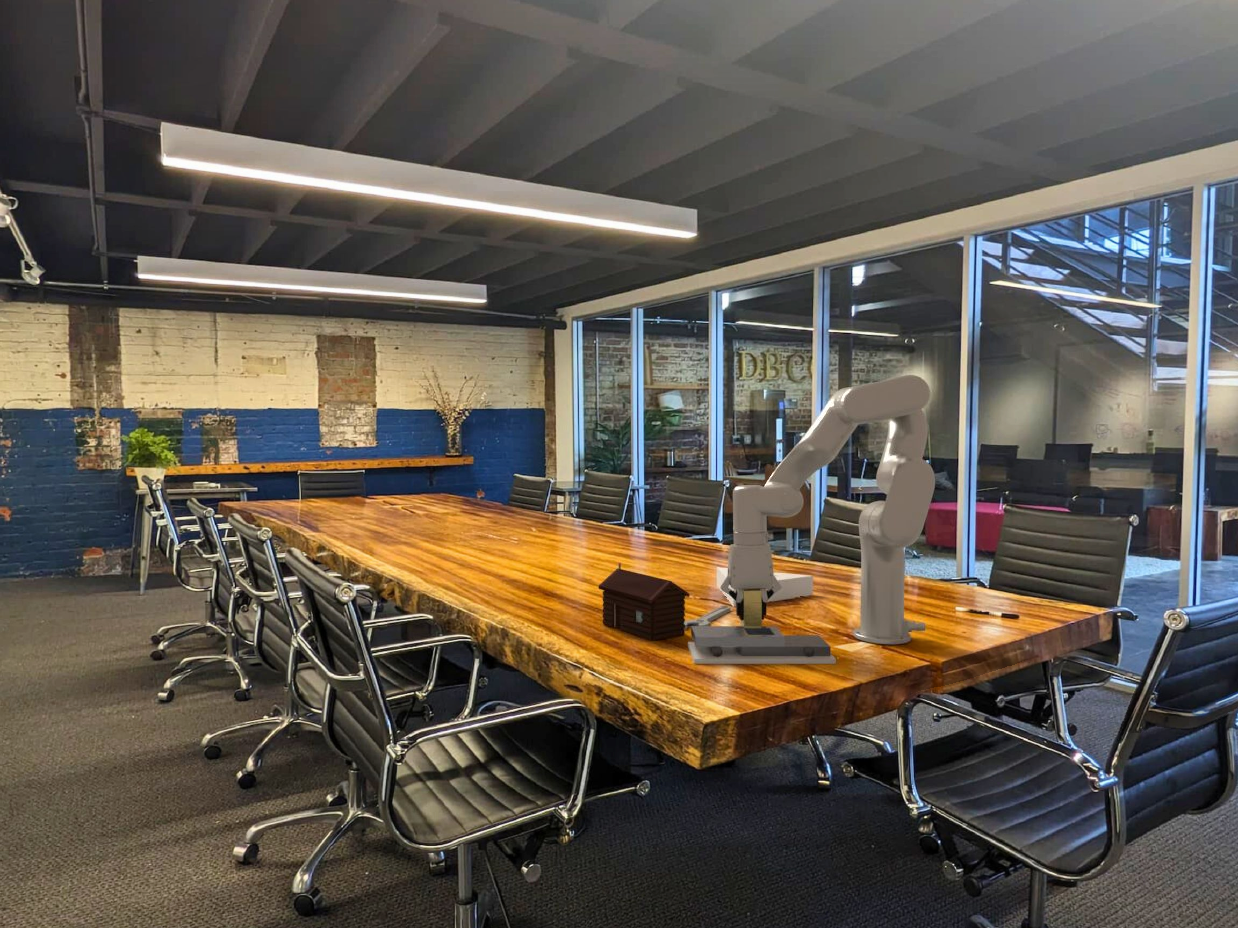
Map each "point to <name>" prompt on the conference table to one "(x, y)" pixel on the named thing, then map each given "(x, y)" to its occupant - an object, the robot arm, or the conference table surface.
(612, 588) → the model building
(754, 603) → the pin
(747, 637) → the gray toy truck
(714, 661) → the board
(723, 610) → the adjustable wrench
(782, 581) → the triangle block
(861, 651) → the conference table surface
